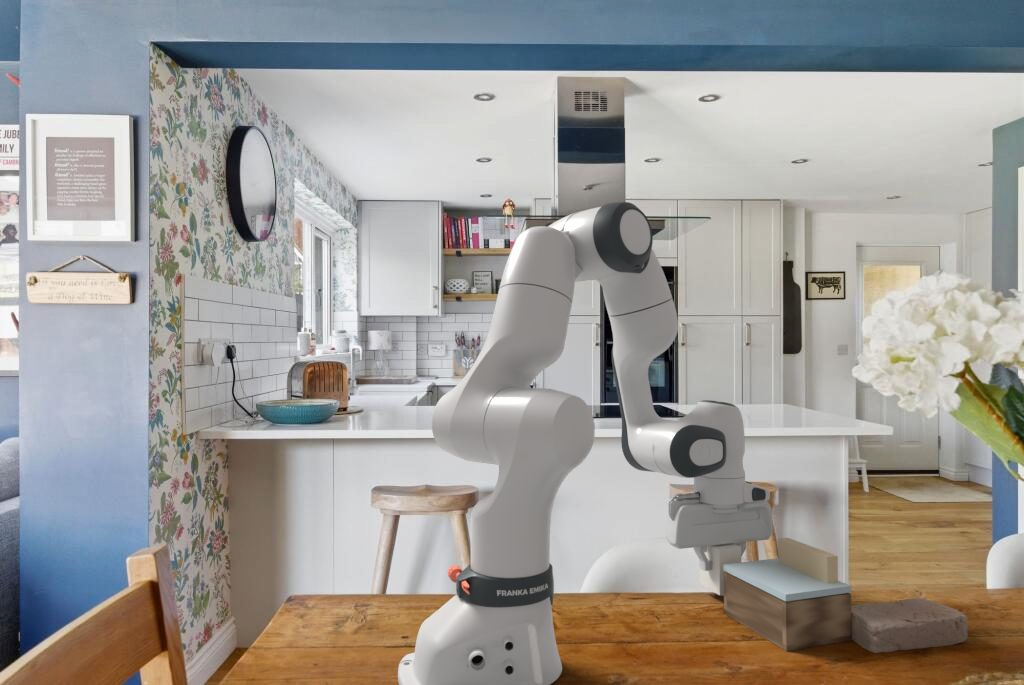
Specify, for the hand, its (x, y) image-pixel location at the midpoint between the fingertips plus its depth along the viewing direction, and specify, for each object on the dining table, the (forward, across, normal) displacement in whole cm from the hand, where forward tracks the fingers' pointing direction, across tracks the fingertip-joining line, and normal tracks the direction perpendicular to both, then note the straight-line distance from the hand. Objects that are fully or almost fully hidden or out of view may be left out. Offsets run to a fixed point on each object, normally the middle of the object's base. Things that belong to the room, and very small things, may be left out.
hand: (720, 568), depth 119 cm
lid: (-2, +2, -14) cm, 14 cm away
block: (+4, 0, 0) cm, 4 cm away
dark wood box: (+5, +2, -14) cm, 15 cm away
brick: (+6, +16, -23) cm, 29 cm away
